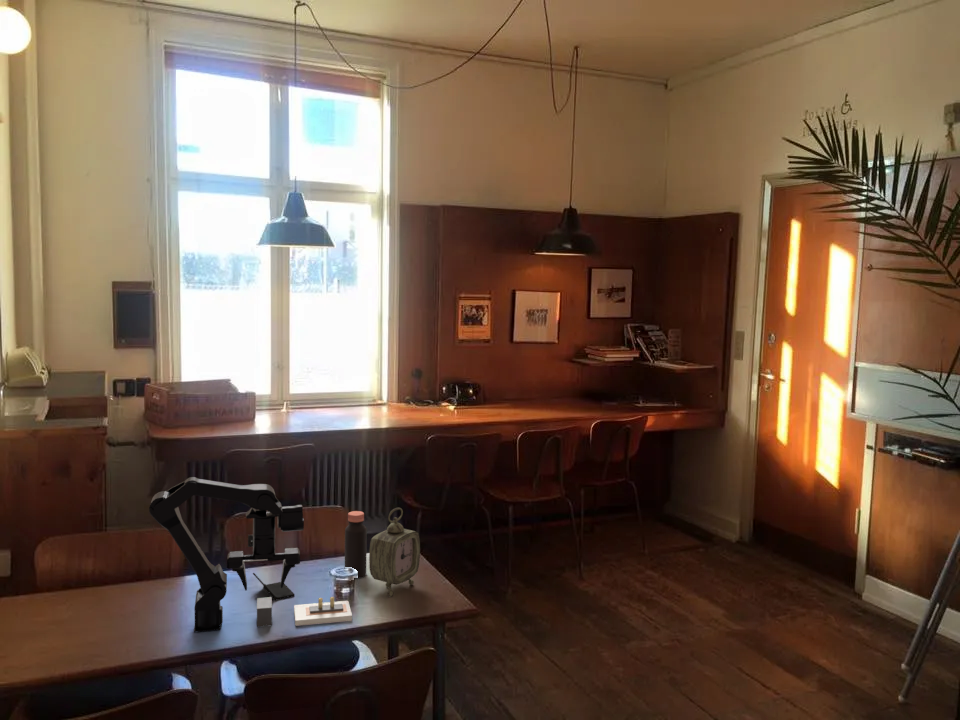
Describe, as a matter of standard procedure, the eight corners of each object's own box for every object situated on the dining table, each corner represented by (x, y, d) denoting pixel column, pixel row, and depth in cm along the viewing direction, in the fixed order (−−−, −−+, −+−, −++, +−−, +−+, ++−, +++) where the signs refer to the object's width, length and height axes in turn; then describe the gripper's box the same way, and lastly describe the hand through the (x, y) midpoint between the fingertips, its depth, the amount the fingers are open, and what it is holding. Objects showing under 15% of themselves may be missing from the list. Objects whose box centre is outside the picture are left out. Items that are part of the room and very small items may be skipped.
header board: (295, 625, 207) (295, 608, 206) (294, 610, 216) (294, 593, 216) (351, 620, 211) (352, 603, 210) (348, 605, 220) (348, 589, 220)
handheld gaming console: (301, 589, 227) (280, 567, 223) (284, 609, 223) (262, 587, 219) (282, 582, 236) (262, 561, 232) (266, 602, 232) (245, 580, 228)
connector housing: (271, 625, 206) (271, 607, 206) (256, 626, 205) (256, 608, 205) (271, 614, 213) (271, 597, 213) (257, 615, 212) (257, 598, 212)
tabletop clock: (391, 600, 225) (392, 516, 222) (366, 593, 229) (367, 511, 227) (419, 584, 237) (421, 504, 235) (395, 577, 242) (396, 499, 239)
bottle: (349, 580, 238) (350, 517, 236) (341, 573, 244) (341, 511, 242) (369, 576, 242) (370, 514, 240) (360, 569, 248) (361, 508, 246)
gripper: (298, 521, 217) (298, 575, 219) (229, 525, 212) (229, 579, 214) (300, 534, 206) (299, 590, 208) (226, 538, 201) (227, 595, 203)
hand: (263, 588), depth 208 cm, fingers open, 9 cm apart
